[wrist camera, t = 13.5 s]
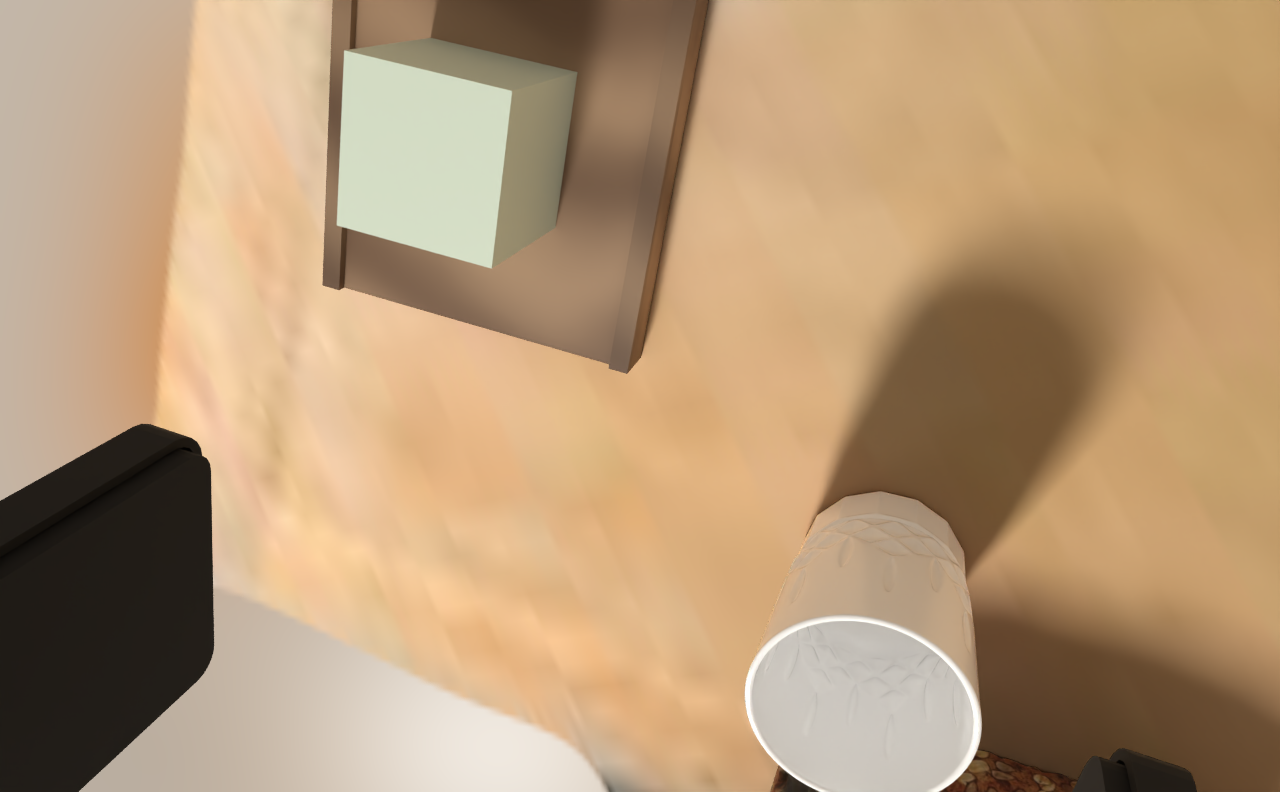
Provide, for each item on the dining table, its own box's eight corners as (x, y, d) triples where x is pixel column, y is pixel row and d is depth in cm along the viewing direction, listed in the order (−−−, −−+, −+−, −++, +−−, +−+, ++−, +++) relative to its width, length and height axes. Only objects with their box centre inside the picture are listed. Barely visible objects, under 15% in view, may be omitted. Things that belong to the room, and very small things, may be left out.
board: (364, -122, 38) (337, -126, 37) (718, -51, 36) (705, -51, 34) (346, 273, 45) (322, 285, 44) (640, 357, 43) (627, 373, 41)
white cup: (785, 473, 43) (736, 606, 34) (982, 480, 40) (984, 626, 32) (794, 629, 46) (751, 789, 37) (978, 645, 43) (979, 820, 34)
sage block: (430, 37, 38) (344, 50, 33) (577, 72, 37) (512, 90, 32) (418, 191, 41) (336, 225, 36) (555, 227, 40) (491, 268, 35)
